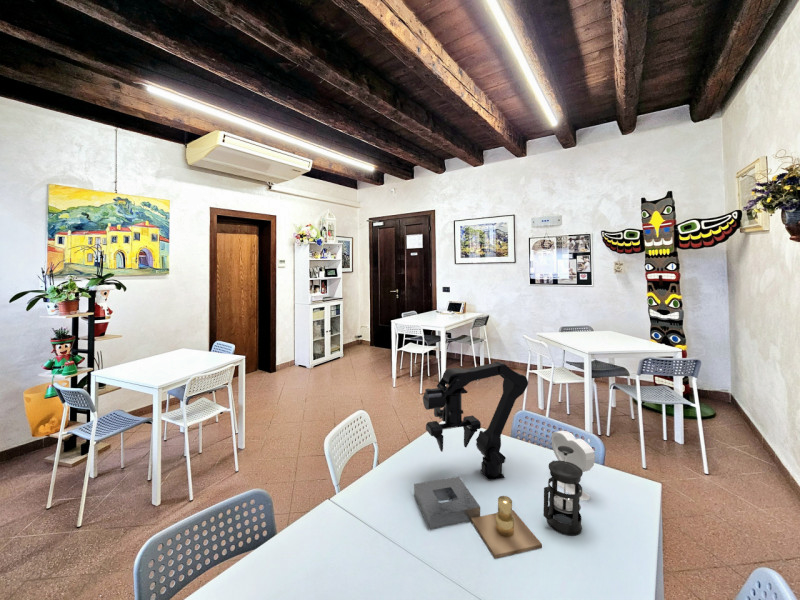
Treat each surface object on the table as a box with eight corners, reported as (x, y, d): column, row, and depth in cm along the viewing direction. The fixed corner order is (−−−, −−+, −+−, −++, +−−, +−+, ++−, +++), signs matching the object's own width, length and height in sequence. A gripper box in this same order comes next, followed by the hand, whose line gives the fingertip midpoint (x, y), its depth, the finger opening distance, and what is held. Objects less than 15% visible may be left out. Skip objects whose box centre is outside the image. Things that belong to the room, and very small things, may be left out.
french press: (568, 510, 107) (569, 438, 105) (591, 532, 98) (594, 453, 96) (535, 516, 104) (536, 443, 102) (556, 540, 95) (557, 459, 93)
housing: (458, 487, 119) (458, 476, 119) (480, 519, 103) (480, 506, 103) (414, 495, 115) (414, 483, 115) (429, 529, 100) (429, 516, 99)
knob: (507, 522, 100) (508, 493, 100) (517, 535, 96) (518, 504, 95) (492, 525, 99) (492, 496, 99) (501, 538, 94) (501, 507, 94)
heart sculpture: (548, 476, 125) (549, 428, 123) (560, 473, 126) (561, 426, 125) (583, 503, 110) (584, 449, 109) (595, 500, 111) (597, 446, 110)
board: (512, 512, 106) (512, 509, 106) (542, 547, 92) (542, 544, 92) (471, 521, 103) (471, 518, 103) (494, 558, 89) (494, 555, 89)
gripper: (466, 395, 131) (466, 434, 132) (420, 401, 125) (420, 442, 126) (481, 405, 120) (481, 448, 121) (431, 412, 114) (432, 457, 116)
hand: (453, 448), depth 121 cm, fingers open, 9 cm apart
